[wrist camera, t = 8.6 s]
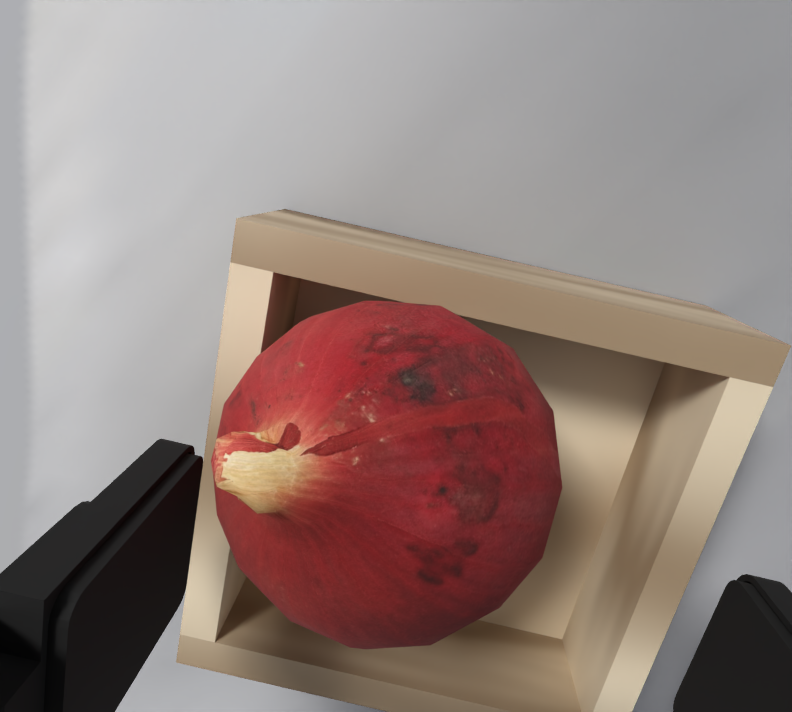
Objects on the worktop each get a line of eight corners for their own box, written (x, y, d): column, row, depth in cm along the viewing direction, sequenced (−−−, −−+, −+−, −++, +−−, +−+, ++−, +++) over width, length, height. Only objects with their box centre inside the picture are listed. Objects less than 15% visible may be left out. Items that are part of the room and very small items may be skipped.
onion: (484, 298, 14) (348, 117, 7) (629, 514, 12) (656, 584, 5) (295, 426, 15) (4, 388, 8) (402, 642, 14) (151, 853, 6)
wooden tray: (285, 209, 14) (236, 218, 11) (706, 305, 14) (791, 345, 11) (228, 566, 17) (176, 662, 14) (575, 647, 17) (609, 763, 13)
